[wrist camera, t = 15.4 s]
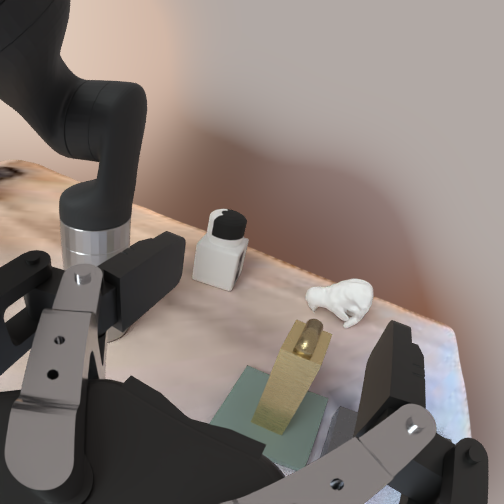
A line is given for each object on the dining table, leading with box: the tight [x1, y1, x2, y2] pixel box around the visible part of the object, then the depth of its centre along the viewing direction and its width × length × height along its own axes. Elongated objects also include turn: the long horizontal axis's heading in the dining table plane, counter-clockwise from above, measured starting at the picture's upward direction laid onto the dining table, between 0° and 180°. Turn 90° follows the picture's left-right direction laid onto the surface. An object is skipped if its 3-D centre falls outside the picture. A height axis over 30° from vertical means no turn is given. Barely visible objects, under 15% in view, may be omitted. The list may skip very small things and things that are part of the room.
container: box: [192, 209, 248, 291], centre depth 59 cm, size 8×8×13 cm
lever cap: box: [251, 319, 332, 435], centre depth 32 cm, size 4×5×14 cm
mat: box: [210, 365, 328, 471], centre depth 36 cm, size 12×12×1 cm
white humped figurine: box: [305, 279, 373, 328], centre depth 57 cm, size 6×8×12 cm
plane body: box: [320, 406, 451, 458], centre depth 31 cm, size 18×8×2 cm, turn 67°
